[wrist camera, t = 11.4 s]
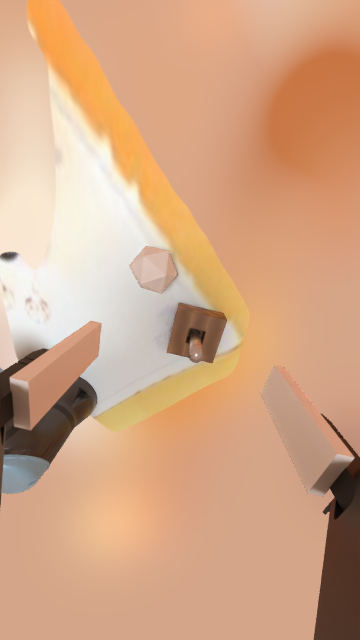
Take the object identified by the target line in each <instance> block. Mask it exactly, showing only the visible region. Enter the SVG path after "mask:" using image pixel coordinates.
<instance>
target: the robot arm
mask: <svg viewBox="0 0 360 640" xmlns="http://www.w3.org/2000/svg"><path fill="white" fill-rule="evenodd" d="M100 332H101V323H98V322H94V321H90V322H89V323H87V324H86V325H84V326H83V327H82V328H80V329H79V330H77V331H76V332H74V333H73V334H71V335H70V336H69V337H67V338H66V339H64V340H63V341H61V342H60V343H58V344H57V345H56V346H54V347H53V348H51V349H50V350H48V349H41V350H38V351H35V352H32V353H31V354H29V355H28V356H26V357H25V358H23V359H21V360H20V361H18V363H15V364H13V365H12V366H10V367H9V368H7V369H6V370H4V371H3V370H2V369H1V368H0V505H1V493H7V494H13V493H20V492H24V491H26V490H28V489H30V488H31V487H33V486H34V485H35V484H36V483H37V482H38V480H39V479H40V478H41V476H42V475H43V474H44V472H45V471H46V470H47V469H48V468H49V466H50V464H51V462H52V461H53V459H54V458H55V456H56V454H57V453H58V452H59V450H60V448H61V447H62V445H63V444H64V442H65V441H66V439H67V438H68V436H69V435H70V433H71V432H72V430H73V429H74V427H76V426H77V425H78V424H79V423H81V422H82V421H83V420H84V419H85V418H87V417H88V416H89V415H90V414H91V413H92V411H93V409H94V408H95V406H96V403H97V397H96V393H95V391H94V389H93V388H92V386H91V385H90V384H89V383H88V382H86V381H85V380H83V379H82V378H80V377H79V376H80V375H81V374H82V373H83V372H84V371H85V370H86V368H87V367H88V366H89V365H90V364H91V363H92V362H93V361H94V360H95V358H96V357H97V356H98V353H99V343H100ZM261 396H262V398H263V400H264V402H265V405H266V406H267V409H268V411H269V413H270V415H271V417H272V419H273V421H274V423H275V426H276V428H277V430H278V432H279V434H280V436H281V438H282V440H283V443H284V445H285V447H286V449H287V451H288V453H289V455H290V457H291V459H292V462H293V464H294V466H295V468H296V470H297V472H298V474H299V476H300V478H301V481H302V483H303V485H304V487H305V489H306V491H307V493H309V494H314V495H318V496H324V495H325V493H326V492H327V491H328V490H329V489H331V491H332V493H333V495H334V496H335V497H334V499H333V500H332V501H331V502H330V503H329V505H328V506H327V507H326V508H325V509H324V511H323V513H324V514H327V512H330V514H329V523H328V530H327V538H326V546H325V555H324V562H323V570H322V578H321V586H320V594H319V602H318V610H317V618H316V626H315V634H314V640H360V457H359V456H358V455H357V453H356V452H355V451H354V450H353V448H352V447H351V446H350V445H349V444H348V442H347V441H346V440H345V439H343V436H342V435H341V434H340V432H338V430H337V429H336V427H335V426H334V425H333V424H332V423H331V421H329V420H328V419H327V418H326V417H325V416H324V415H323V414H321V413H319V411H318V410H317V409H316V407H315V406H314V405H313V404H312V402H311V401H310V400H309V398H308V397H307V396H306V395H305V393H304V392H303V391H302V390H301V388H300V387H299V386H298V384H297V383H296V382H295V381H294V379H293V378H292V377H291V375H290V374H289V373H288V372H287V370H286V369H285V368H284V367H280V366H276V365H274V367H273V369H272V371H271V373H270V375H269V377H268V379H267V382H266V383H265V385H264V388H263V390H262V392H261Z"/></svg>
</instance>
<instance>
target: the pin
mask: <svg viewBox="0 0 360 640" xmlns="http://www.w3.org/2000/svg"><path fill="white" fill-rule="evenodd" d="M189 358H190V360H191V361H192V362H195V363H197V362H200V361H201V360H202V346H201V335H200V330H198V329H193V328H191V329H190V350H189Z"/></svg>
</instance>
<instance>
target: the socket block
mask: <svg viewBox="0 0 360 640" xmlns="http://www.w3.org/2000/svg"><path fill="white" fill-rule="evenodd" d="M226 322H227V319H226V317H225V315H224V313H220V312H216V311H212V310H207V309H203V308H199V307H195V306H191V305H187V304H183V303H179V304H178V307H177V311H176V316H175V320H174V324H173V328H172V332H171V337H170V341H169V345H168V349H167V353H171V354H175V355H180V356H184V357H188V358H189V350H190V329H191V328H193V329H198V330H200V335H201V346H202V360H201V361H205V362H209V363H213V360H214V357H215V354H216V351H217V348H218V345H219V343H220V340H221V337H222V334H223V331H224V328H225V325H226Z"/></svg>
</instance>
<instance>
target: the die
mask: <svg viewBox="0 0 360 640" xmlns="http://www.w3.org/2000/svg"><path fill="white" fill-rule="evenodd" d="M129 266H130V268H131V270H132V272H133V274H134V276H135V277H136V279H137V281H138V283H139V285H140V287H142V288H145V289H148V290H152V291H155V292H158V293H161V294H162V293H163V291H164V290H165V289H166V288H167V287H168V285H169V284H170V283H171V282H172V281H173V280H174V278H175V277H176V276H177V275H178V274H177V272H176V269H175V266H174V264H173V261H172V259H171V256H170V253H169V251H166V250H161V249H157V248H152V247H147V246H146V247H145V248H144V249H143V250H142V251H141V253H140V254H139V255H138V256H137V257H136V258H135V259H134V261H133V262H132V263H131V264H130V265H129Z"/></svg>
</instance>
